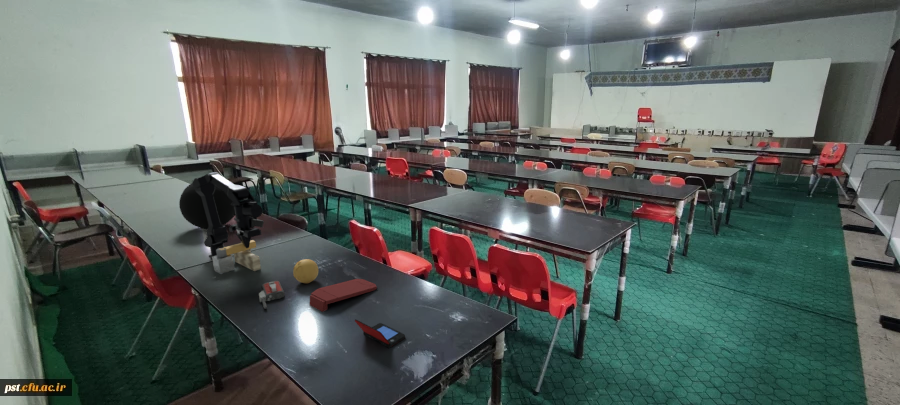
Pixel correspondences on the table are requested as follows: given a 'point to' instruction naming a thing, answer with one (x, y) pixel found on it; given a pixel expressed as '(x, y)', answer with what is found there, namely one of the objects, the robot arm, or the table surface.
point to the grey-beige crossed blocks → (248, 259)
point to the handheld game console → (382, 333)
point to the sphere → (195, 210)
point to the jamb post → (223, 264)
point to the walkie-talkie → (271, 292)
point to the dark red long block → (339, 292)
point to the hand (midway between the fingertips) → (247, 247)
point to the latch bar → (234, 249)
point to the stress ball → (305, 271)
